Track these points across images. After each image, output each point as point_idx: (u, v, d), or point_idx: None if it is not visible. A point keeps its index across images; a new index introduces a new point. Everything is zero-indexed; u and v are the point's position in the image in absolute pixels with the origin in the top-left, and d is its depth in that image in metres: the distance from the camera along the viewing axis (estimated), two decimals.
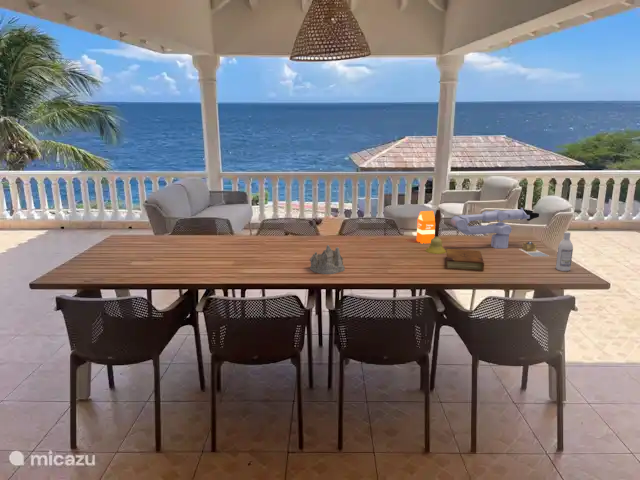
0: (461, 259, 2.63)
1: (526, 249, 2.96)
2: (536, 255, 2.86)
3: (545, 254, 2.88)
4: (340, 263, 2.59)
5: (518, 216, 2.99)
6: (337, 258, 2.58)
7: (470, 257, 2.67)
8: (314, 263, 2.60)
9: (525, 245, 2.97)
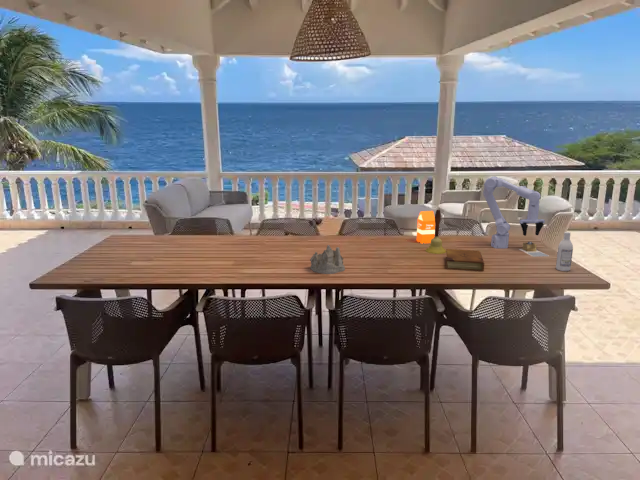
0: (461, 259, 2.63)
1: (526, 249, 2.96)
2: (536, 255, 2.86)
3: (545, 254, 2.88)
4: (340, 263, 2.59)
5: (527, 215, 2.93)
6: (337, 258, 2.59)
7: (470, 257, 2.67)
8: (314, 263, 2.60)
9: (525, 245, 2.97)
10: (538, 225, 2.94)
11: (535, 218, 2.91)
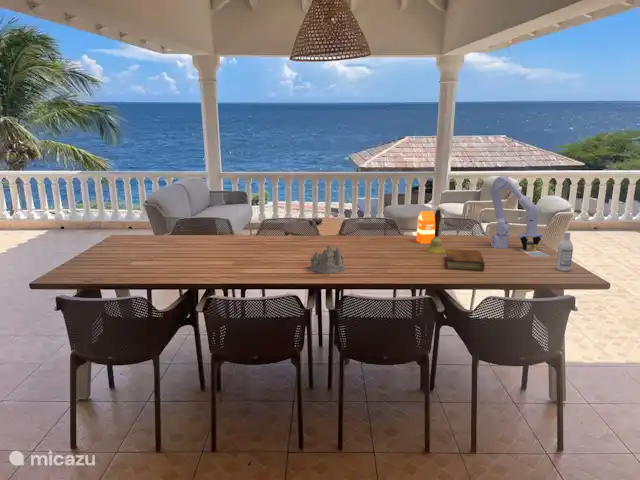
0: (461, 259, 2.63)
1: (526, 249, 2.96)
2: (536, 255, 2.86)
3: (545, 254, 2.88)
4: (341, 263, 2.60)
5: (526, 229, 2.95)
6: (338, 258, 2.59)
7: (470, 257, 2.67)
8: (315, 263, 2.61)
9: None
10: (535, 239, 2.96)
11: (533, 232, 2.93)
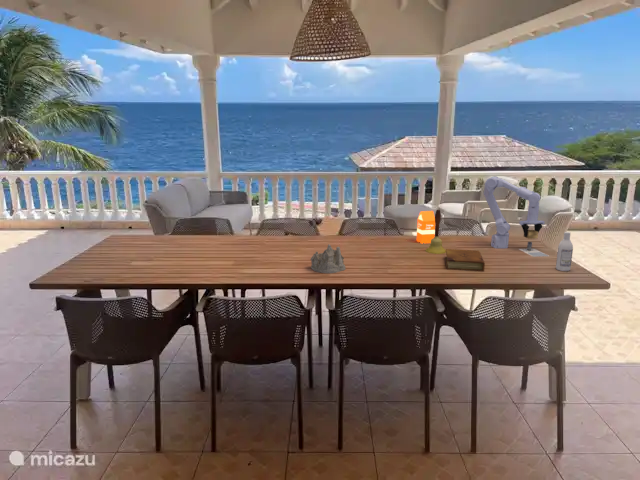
0: (462, 259, 2.63)
1: (527, 236, 2.94)
2: (536, 255, 2.86)
3: (545, 254, 2.88)
4: (341, 262, 2.60)
5: (527, 216, 2.93)
6: (338, 257, 2.60)
7: (470, 257, 2.67)
8: (315, 262, 2.61)
9: None
10: (537, 226, 2.94)
11: (535, 219, 2.91)
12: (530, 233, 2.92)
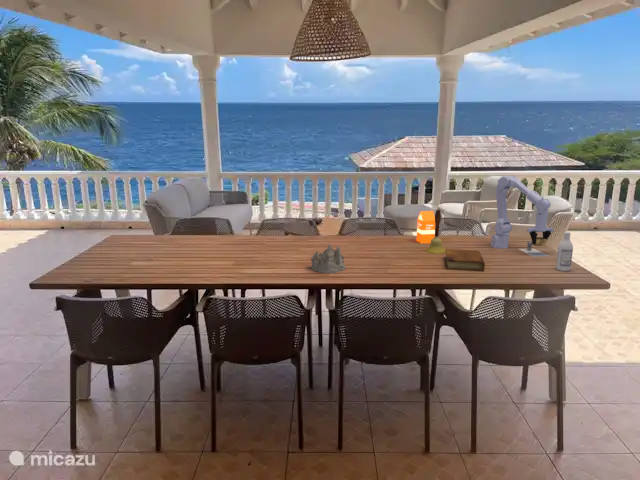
0: (462, 259, 2.63)
1: (535, 244, 2.85)
2: (536, 255, 2.86)
3: (545, 254, 2.88)
4: (341, 262, 2.61)
5: None
6: (338, 257, 2.60)
7: (470, 257, 2.67)
8: (315, 262, 2.61)
9: None
10: (545, 234, 2.85)
11: (543, 227, 2.82)
12: (538, 241, 2.84)
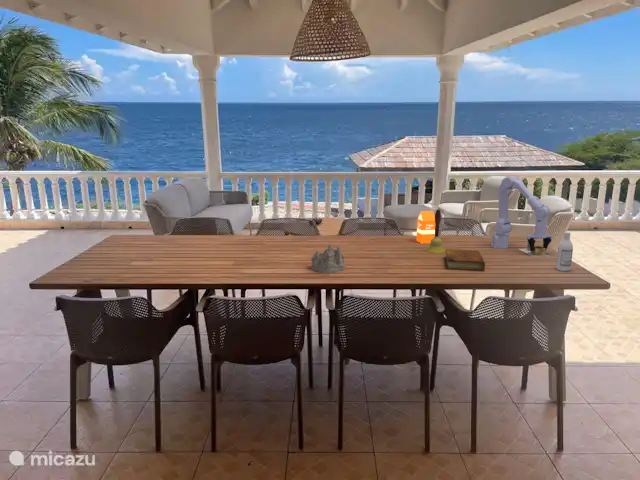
0: (462, 259, 2.63)
1: (534, 253, 2.87)
2: None
3: (545, 254, 2.88)
4: (341, 262, 2.61)
5: (535, 230, 2.86)
6: (338, 257, 2.61)
7: (470, 257, 2.67)
8: (315, 262, 2.62)
9: None
10: (546, 240, 2.87)
11: (543, 233, 2.83)
12: (537, 250, 2.85)
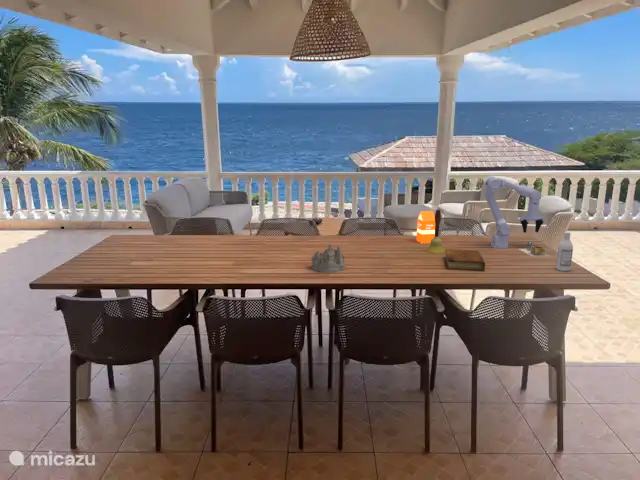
0: (462, 259, 2.63)
1: (534, 253, 2.87)
2: None
3: (545, 254, 2.88)
4: (342, 262, 2.62)
5: None
6: (339, 257, 2.61)
7: (470, 257, 2.67)
8: (316, 262, 2.62)
9: (533, 249, 2.87)
10: (538, 222, 3.01)
11: (535, 215, 2.97)
12: (537, 250, 2.85)
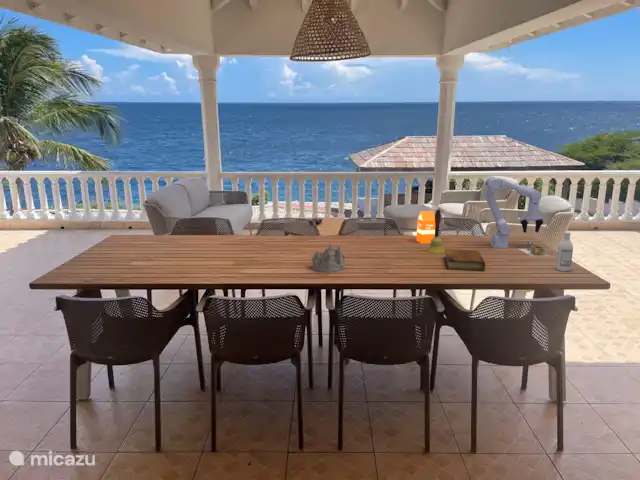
0: (462, 259, 2.63)
1: (534, 253, 2.87)
2: None
3: (545, 254, 2.88)
4: (342, 261, 2.62)
5: None
6: (339, 256, 2.61)
7: (470, 257, 2.67)
8: (316, 262, 2.62)
9: (533, 249, 2.87)
10: (538, 222, 3.01)
11: (535, 215, 2.97)
12: (537, 250, 2.85)
